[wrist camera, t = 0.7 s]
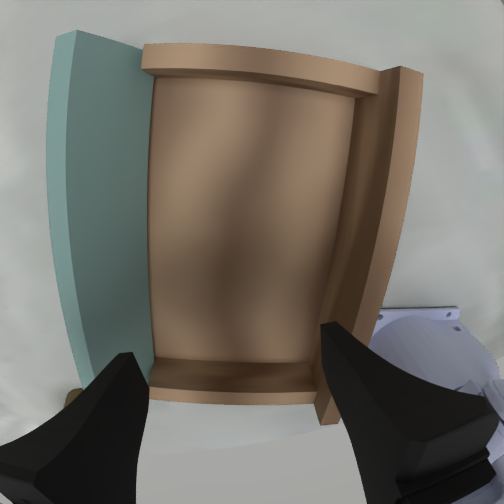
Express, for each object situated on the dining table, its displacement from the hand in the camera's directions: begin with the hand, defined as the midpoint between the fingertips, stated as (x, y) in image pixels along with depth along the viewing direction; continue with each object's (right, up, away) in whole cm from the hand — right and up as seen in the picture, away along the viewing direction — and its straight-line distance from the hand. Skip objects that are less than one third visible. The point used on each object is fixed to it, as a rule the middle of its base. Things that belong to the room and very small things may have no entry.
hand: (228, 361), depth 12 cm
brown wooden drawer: (0, +5, +8) cm, 10 cm away
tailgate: (-6, +5, +6) cm, 10 cm away
